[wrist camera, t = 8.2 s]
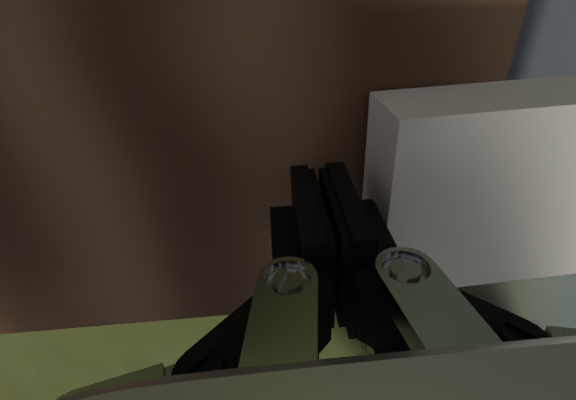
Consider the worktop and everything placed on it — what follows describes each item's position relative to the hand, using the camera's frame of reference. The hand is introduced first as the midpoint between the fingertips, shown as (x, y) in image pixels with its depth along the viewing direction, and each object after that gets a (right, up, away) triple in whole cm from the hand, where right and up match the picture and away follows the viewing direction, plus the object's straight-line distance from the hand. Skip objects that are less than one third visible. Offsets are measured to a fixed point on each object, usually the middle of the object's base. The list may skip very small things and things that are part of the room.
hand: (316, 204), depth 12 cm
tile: (+6, +1, +1) cm, 6 cm away
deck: (-4, +2, +4) cm, 6 cm away
